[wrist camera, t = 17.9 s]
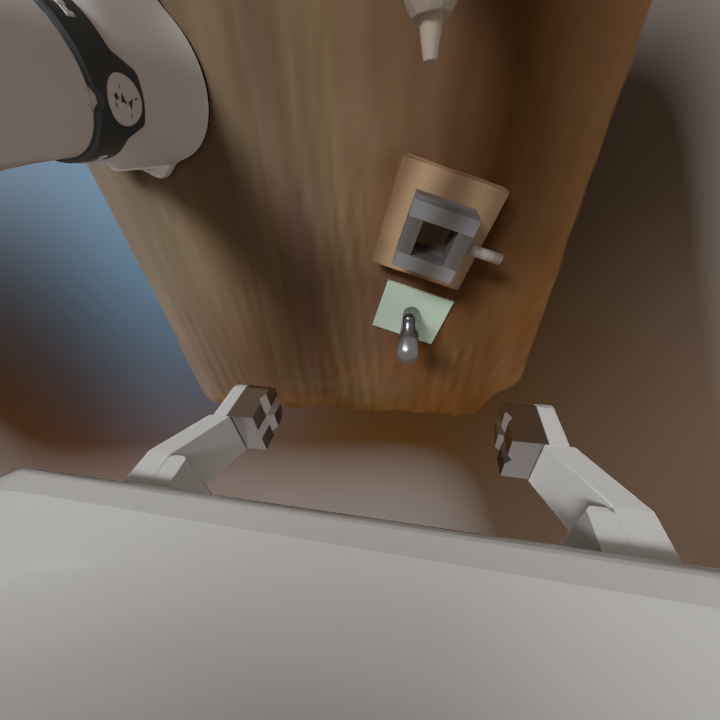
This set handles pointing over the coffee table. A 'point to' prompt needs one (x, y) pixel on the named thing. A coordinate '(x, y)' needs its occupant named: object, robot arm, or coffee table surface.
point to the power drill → (429, 23)
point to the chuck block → (438, 222)
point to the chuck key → (409, 336)
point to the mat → (406, 296)
